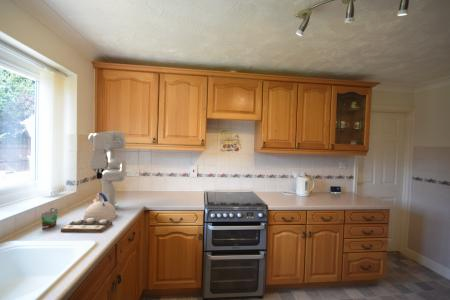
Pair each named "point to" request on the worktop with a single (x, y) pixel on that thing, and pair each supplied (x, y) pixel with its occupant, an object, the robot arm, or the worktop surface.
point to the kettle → (100, 209)
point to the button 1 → (77, 221)
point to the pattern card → (83, 227)
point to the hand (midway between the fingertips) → (99, 178)
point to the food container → (49, 218)
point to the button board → (88, 224)
